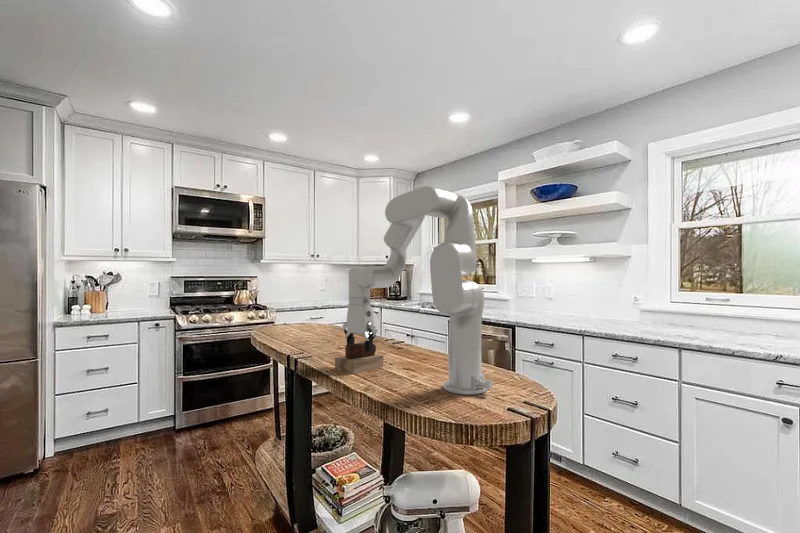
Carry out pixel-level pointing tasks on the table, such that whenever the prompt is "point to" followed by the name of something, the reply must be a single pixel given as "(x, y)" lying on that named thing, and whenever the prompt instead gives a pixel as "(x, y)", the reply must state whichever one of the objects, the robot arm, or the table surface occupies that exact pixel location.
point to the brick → (358, 350)
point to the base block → (358, 363)
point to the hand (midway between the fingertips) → (359, 350)
